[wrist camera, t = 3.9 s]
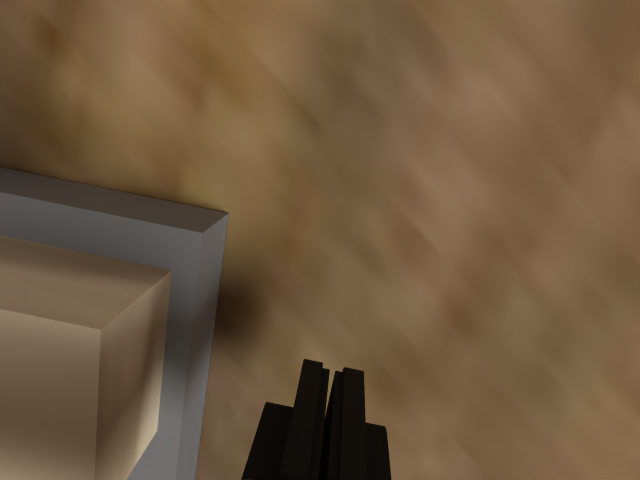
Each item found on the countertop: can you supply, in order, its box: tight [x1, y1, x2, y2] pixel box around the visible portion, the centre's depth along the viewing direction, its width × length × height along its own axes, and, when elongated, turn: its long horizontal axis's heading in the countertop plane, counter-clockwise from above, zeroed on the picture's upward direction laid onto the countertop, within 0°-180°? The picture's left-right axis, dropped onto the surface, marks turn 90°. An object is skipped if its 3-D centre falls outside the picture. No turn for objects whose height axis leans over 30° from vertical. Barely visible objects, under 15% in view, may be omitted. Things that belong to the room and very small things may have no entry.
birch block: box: [0, 235, 172, 480], centre depth 11 cm, size 6×6×4 cm
